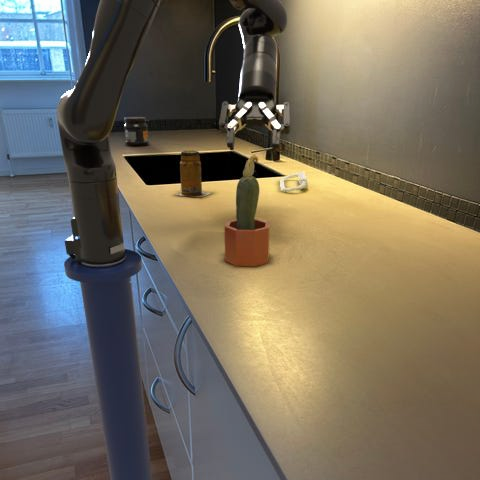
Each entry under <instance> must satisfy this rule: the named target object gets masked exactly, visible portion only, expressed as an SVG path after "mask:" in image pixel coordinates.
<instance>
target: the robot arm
mask: <svg viewBox="0 0 480 480" xmlns="http://www.w3.org/2000/svg"><path fill="white" fill-rule="evenodd" d="M228 1H229V3H230V4H231V6H233V8H235V9H236V10H240V11H241V10H243V12H242V13H241V15H240V17H239V19H238V28H239V32H240V36H241V39H242V44H243V45H242V46H243V58H242V59H243V60H242V66H241V70H240V78H239V89H238V98H237V99H238V100H237V102H236V103H235V104H229V101H227V100H224V101H222V103H221V109H220V114H219V119H218V126H219V132H220V133H221V134H226V138H225V139H226V142H225V143H226V147H227V148H229V151H234V149H235V140H236V133H238V131H242V129H243V128H244V127H245V126H247V127H253V126H254V127H255V126H256V127H264V126H265V127H266V128H267V130H269V131H271V132H272V143H271V147H272V148H271V149H272V152H277V149H280V146H281V136H282V135H283V134H285V135H289V134H290V133H291V127H290V126H291V109H290V107H291V106H290V105H291V104H290V102H289V101H284V102H283V104H276V91H277V90H276V89H277V84H278V83H277V82H278V81H277V77H278V76H277V75H278V74H277V57H278V46H277V42H276V40H275V39H274V37H277V36H279V35H281V34H283V33H284V32H285V31H286V30H287V28H288V24H289V23H288V21H289V16H288V12H287V9H286V7H285V5H284V3H283V2H282V1H281V0H228ZM161 2H162V0H99V3H98V7H97V9H96V10H97V11H96V14H95V21H94V25H93V26H94V27H93V31H92V39H91V43H90V48H89V53H88V56H87V59H86V62H85V65H84V67H83V69H82V71H81V73H80V76H79V78H78V80H77V82H76V84H75V85H74V88H73V89H71V90H68V91H66V93H64V94H63V95H62V96H61V97H60V99H59V101H58V103H57V107H56V119H57V129H58V133H59V140H60V145H61V151H62V157H63V163H64V166H65V169H66V173H67V179H68V185H69V192H70V199H71V206H72V213H73V217H72V218H71V219H70V227H71V233H72V234H71V235H70V236H68V237H67V238H66V239H65V240H64V247H65V251H66V252H65V254H66V255H68V256H69V257H71V258H72V259H74V258H75V254H76V260H77V264H78V265H83V266H86V267H91V268H106V267H112V266H116V265H119V264H121V263H123V262H124V261H125V260H126V255H125V249H126V248H125V242H124V232H123V223H122V213H121V205H120V196H119V187H118V186H119V185H118V177H117V169H116V163H115V161H114V158H113V155H112V151H111V145H110V137H109V134H111V132H112V130H113V127H114V124H115V121H116V117H117V113H118V109H119V106H120V102H121V99H122V96H123V92H124V88H125V86H126V82H127V80H128V77H129V74H130V72H131V70H132V68H133V66H134V65H135V62H136V60H137V58H138V56H139V54H140V51H141V50H142V47H143V45H144V43H145V41H146V38H147V36H148V33H149V31H150V29H151V28H152V24H153V22H154V19H155V16H156V14H157V12H158V9H159V7H160V3H161ZM234 112H235V113H236V114H235V115H234V116H233V119H232V120H230V122H229V118H230V117H232V115H233V113H234ZM276 113H278V114H279V116H280V117H281V118H283V123H281V124H280V123H279V122H278V120H277V119H276V116H275V115H276ZM228 122H229V123H228Z"/></svg>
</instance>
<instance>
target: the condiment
mask: <svg viewBox="0 0 480 480" xmlns="http://www.w3.org/2000/svg"><path fill="white" fill-rule="evenodd" d="M179 173H180V190H181V192H179V193H175V196H182V197H192V198H204V197H207V196H209V195H211V194H213V192H211V191H204V190H203V187H202V186H203V184H202V183H203V182H202V162H201V159H200V152H199V151H197V150H182V151H181V152H180V162H179Z"/></svg>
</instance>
